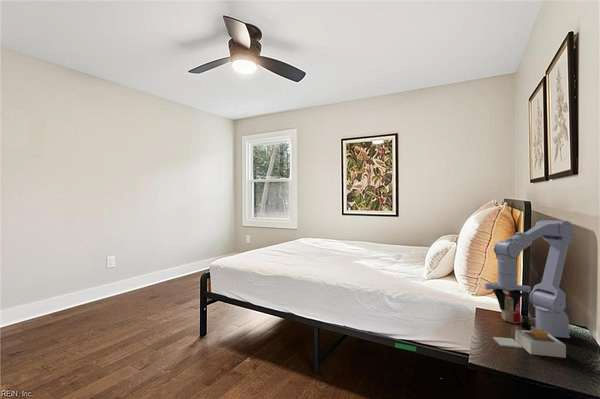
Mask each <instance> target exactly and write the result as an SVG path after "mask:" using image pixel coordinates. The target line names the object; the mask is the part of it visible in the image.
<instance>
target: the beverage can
mask: <svg viewBox="0 0 600 399" xmlns="http://www.w3.org/2000/svg"><path fill="white" fill-rule="evenodd" d="M504 293H505V294H506V295H505V297H509V291H507V290H505V291H504ZM521 300H522V299H521V298H520V299H519V301H518V303H517V305H516V308H515V311H513V321H508V322H507V323H510V322H511V323H512V324H519V323H521V321H522V320H521V319H522V318H521V317H522V316H521V315H522V313H521V312H522V310H521V308H522V307H521V305H522V304H521Z"/></svg>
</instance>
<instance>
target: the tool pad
mask: <svg viewBox="0 0 600 399" xmlns="http://www.w3.org/2000/svg"><path fill="white" fill-rule="evenodd" d="M493 340H494V341H495V342H496V343H497V344H498V345H499V346H500V347H503V348H514V349H523V347H522V346H521V345H520V344H519V343H517V342H516V341H515V339H514V338H509V337H501V336H500V337H499V336H493Z"/></svg>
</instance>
